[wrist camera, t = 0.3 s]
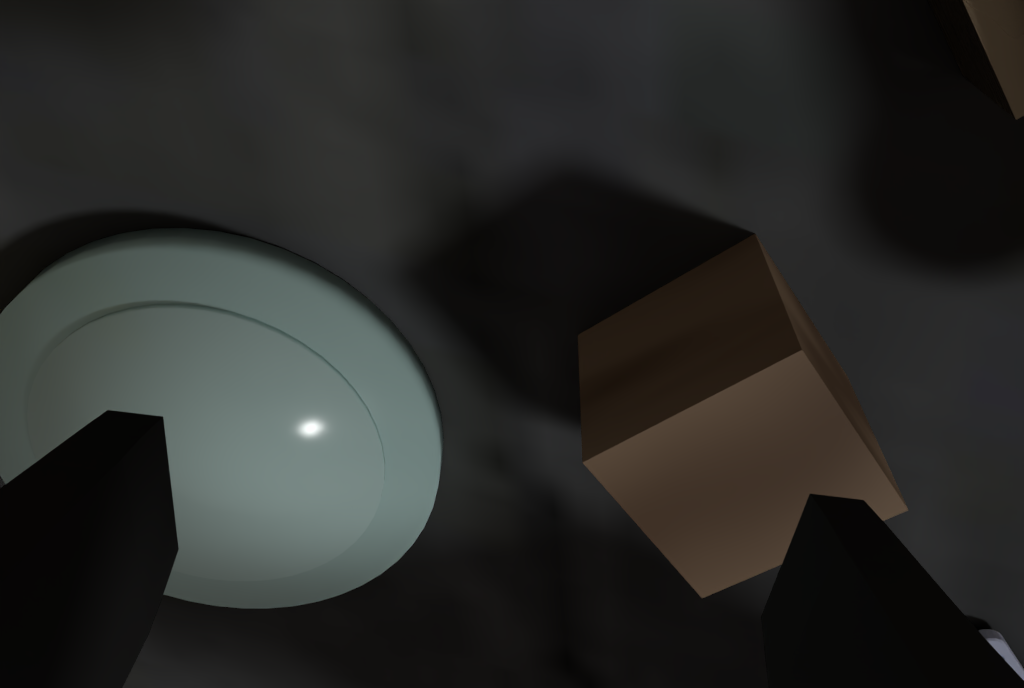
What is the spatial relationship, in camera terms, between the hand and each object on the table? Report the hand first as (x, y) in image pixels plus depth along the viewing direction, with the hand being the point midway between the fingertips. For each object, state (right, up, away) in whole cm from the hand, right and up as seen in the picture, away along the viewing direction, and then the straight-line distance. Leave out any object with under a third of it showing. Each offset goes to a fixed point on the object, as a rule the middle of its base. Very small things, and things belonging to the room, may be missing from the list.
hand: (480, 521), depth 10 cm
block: (+5, +2, +11) cm, 12 cm away
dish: (-7, 0, +12) cm, 14 cm away
